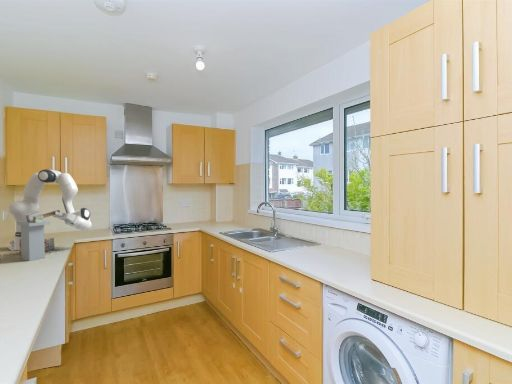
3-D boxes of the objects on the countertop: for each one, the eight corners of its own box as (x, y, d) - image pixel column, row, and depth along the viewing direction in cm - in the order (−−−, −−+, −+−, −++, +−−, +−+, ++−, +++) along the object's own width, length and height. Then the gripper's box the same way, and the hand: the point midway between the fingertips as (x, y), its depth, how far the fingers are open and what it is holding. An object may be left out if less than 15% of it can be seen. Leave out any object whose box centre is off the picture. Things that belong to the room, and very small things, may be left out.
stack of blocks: (49, 248, 228) (48, 233, 228) (54, 249, 226) (54, 234, 226) (19, 254, 208) (19, 238, 208) (25, 255, 206) (24, 238, 206)
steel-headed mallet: (27, 221, 197) (25, 215, 196) (57, 212, 214) (56, 206, 212) (30, 222, 194) (28, 215, 193) (61, 213, 211) (59, 206, 210)
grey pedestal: (17, 258, 198) (16, 221, 197) (37, 254, 208) (36, 219, 207) (29, 262, 189) (29, 223, 188) (50, 257, 199) (49, 221, 199)
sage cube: (32, 222, 194) (32, 216, 194) (39, 221, 197) (39, 216, 197) (35, 222, 192) (35, 216, 192) (42, 222, 195) (42, 216, 195)
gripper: (66, 215, 226) (49, 207, 215) (80, 216, 216) (63, 208, 205) (61, 222, 223) (44, 215, 213) (76, 224, 213) (58, 216, 203)
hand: (53, 212), depth 209 cm, fingers closed on steel-headed mallet, 2 cm apart
